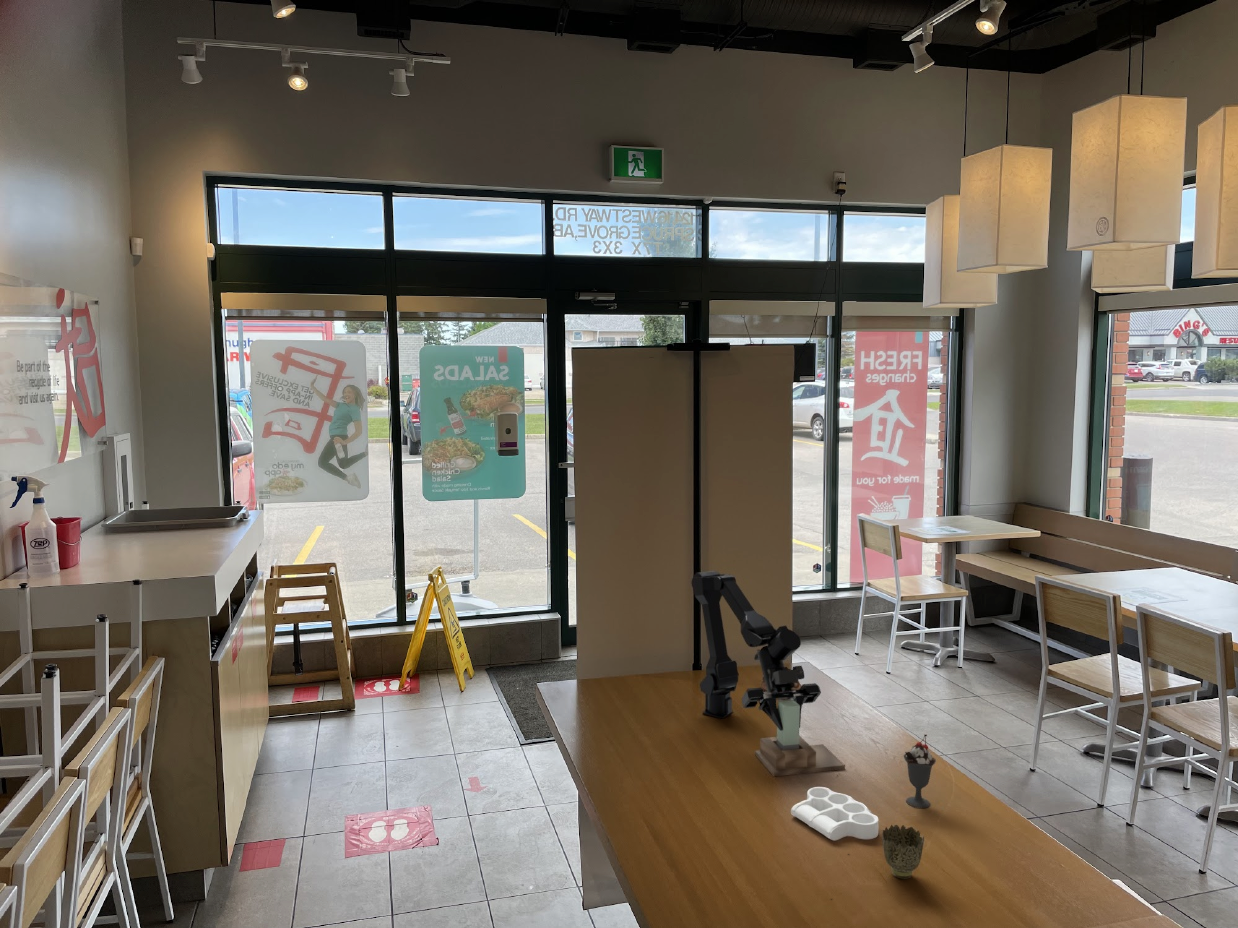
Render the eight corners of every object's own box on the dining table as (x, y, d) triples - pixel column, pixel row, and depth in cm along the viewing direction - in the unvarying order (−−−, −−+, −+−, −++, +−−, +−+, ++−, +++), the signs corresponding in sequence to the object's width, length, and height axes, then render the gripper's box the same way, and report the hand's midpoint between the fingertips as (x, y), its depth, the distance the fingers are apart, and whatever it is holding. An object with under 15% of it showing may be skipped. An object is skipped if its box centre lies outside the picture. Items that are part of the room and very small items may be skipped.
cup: (874, 864, 165) (876, 824, 164) (912, 862, 165) (913, 822, 164) (890, 887, 157) (891, 845, 156) (929, 885, 158) (931, 843, 157)
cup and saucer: (805, 688, 259) (806, 668, 259) (796, 701, 248) (796, 680, 248) (766, 682, 264) (767, 662, 264) (755, 695, 253) (756, 674, 253)
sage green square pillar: (782, 757, 206) (784, 706, 205) (776, 750, 210) (777, 700, 208) (798, 756, 207) (799, 705, 205) (791, 748, 211) (793, 699, 209)
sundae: (933, 797, 191) (936, 732, 189) (934, 812, 185) (936, 744, 183) (902, 793, 193) (904, 728, 192) (901, 807, 187) (904, 740, 185)
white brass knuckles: (780, 812, 185) (831, 795, 193) (841, 851, 170) (893, 831, 177) (780, 797, 185) (831, 781, 192) (841, 835, 170) (894, 816, 177)
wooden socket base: (773, 776, 201) (773, 757, 201) (755, 754, 213) (755, 736, 212) (844, 768, 205) (845, 750, 205) (822, 747, 217) (823, 730, 216)
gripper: (746, 656, 208) (762, 718, 198) (818, 651, 212) (838, 712, 202) (735, 677, 216) (749, 737, 207) (804, 671, 220) (822, 730, 210)
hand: (790, 729), depth 206 cm, fingers closed on sage green square pillar, 4 cm apart
